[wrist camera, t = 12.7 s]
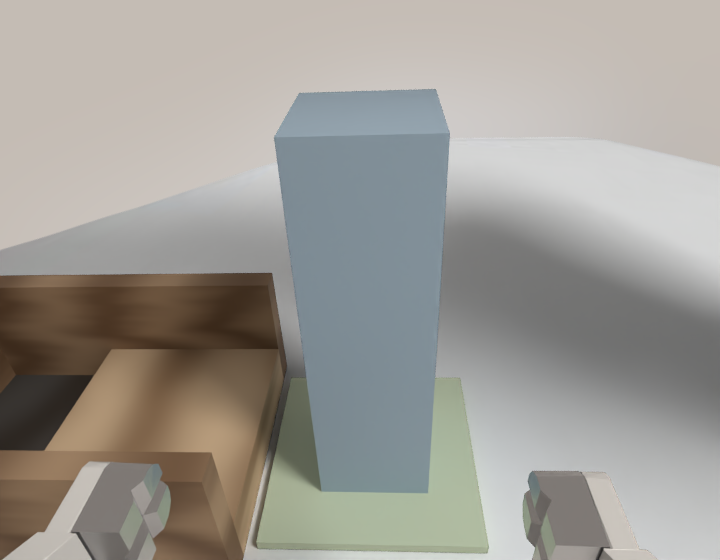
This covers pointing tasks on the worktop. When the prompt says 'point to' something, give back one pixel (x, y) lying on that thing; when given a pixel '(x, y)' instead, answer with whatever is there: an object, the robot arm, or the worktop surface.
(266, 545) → the mat
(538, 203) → the worktop surface
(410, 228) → the block
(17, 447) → the brown wooden open box
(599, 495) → the robot arm
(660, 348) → the worktop surface
